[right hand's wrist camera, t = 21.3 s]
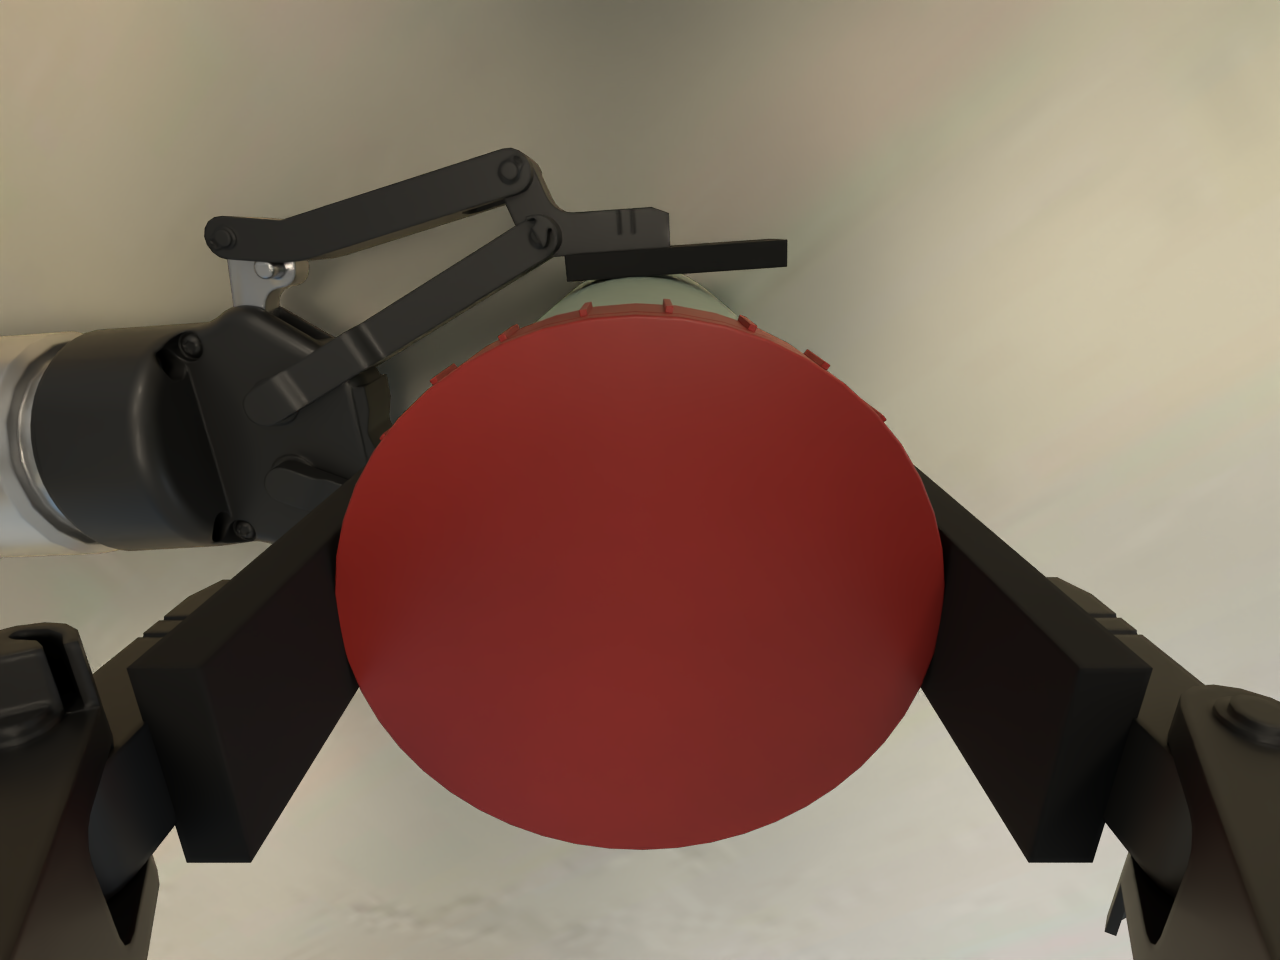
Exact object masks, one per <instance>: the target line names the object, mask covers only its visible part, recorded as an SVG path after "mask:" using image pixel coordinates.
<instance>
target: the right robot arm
mask: <svg viewBox="0 0 1280 960" xmlns="http://www.w3.org/2000/svg"><path fill="white" fill-rule="evenodd" d="M365 466H366V465H365ZM365 466H364V467H363V468H361V469H360V470H359V471H358V472H357V473H356V474H354V475H353V476H352V477H351V478H350V479H349V480H347V481H346V482H345V483H344V484H343V485H341V486H340V487H339V488H338V489H337V490H336V491H334V492H333V493H332V494H331V495H330V496H329V497H327V498H326V499H325V500H324V501H323V502H321V503H320V504H319V505H318V506H317V507H316V508H314V509H313V510H312V511H311V512H310V513H309V514H307V515H306V516H305V517H304V518H303V519H301V520H300V521H299V522H298V523H297V524H296V525H294V526H293V527H292V528H291V529H290V530H289V531H287V532H286V533H285V534H284V535H283V536H281V537H280V538H279V539H278V540H277V541H276V542H274V543H273V544H272V545H271V546H270V547H269V548H267V549H266V550H265V551H264V552H263V553H261V554H260V555H259V556H258V557H257V558H256V559H254V560H253V561H252V562H251V563H250V564H249V565H247V566H246V567H245V568H244V569H243V570H241V571H240V572H239V573H238V574H237V575H236V576H234V577H233V578H232V579H231V580H221V581H219V582H217V583H215V584H213V585H211V586H209V587H207V588H205V589H203V590H201V591H199V592H197V593H195V594H193V595H191V596H189V597H188V598H186V599H185V600H184V601H183V602H181V603H180V604H179V605H178V606H176V607H175V608H174V609H173V610H171V611H170V612H169V613H168V614H167V615H165V616H164V620H159V621H158V622H157V623H155V624H154V625H153V626H152V627H150V628H149V629H148V630H147V631H145V632H144V633H143V634H144V635H143V637H138V638H137V639H136V640H134V641H133V642H132V643H131V644H129V645H128V646H127V647H126V648H124V649H123V650H122V651H121V652H119V653H118V654H117V655H116V656H115V657H113V658H112V659H111V660H110V661H108V662H107V663H106V664H105V665H103V666H102V667H101V668H100V669H98V670H97V671H96V672H95V673H94V674H92V672H91V669H90V666H89V663H88V660H87V657H86V654H85V650H84V647H83V644H82V641H81V638H80V635H79V632H78V630H76V629H75V628H73V627H71V626H69V625H67V624H61V623H46V622H44V623H36V624H28V625H20V626H14V627H10V628H7V629H3V630H0V960H147V956H148V950H149V944H150V938H151V932H152V926H153V920H154V914H155V908H156V902H157V896H158V890H159V877H158V870H157V867H156V864H155V861H154V858H153V855H152V854H153V853H154V851H155V850H156V849H157V847H158V846H159V845H160V844H161V842H162V841H163V840H164V838H165V837H166V836H167V835H168V833H169V832H170V831H171V830H172V828H173V827H174V826H176V829H177V833H178V836H179V839H180V842H181V846H182V849H183V852H184V855H185V858H186V862H187V863H251V862H252V860H253V858H254V857H255V855H256V854H257V852H258V850H259V849H260V847H261V845H262V844H263V842H264V841H265V839H266V837H267V836H268V834H269V832H270V831H271V829H272V828H273V826H274V824H275V823H276V821H277V819H278V818H279V816H280V815H281V813H282V811H283V810H284V808H285V806H286V805H287V803H288V802H289V800H290V798H291V797H292V795H293V793H294V792H295V790H296V789H297V787H298V785H299V784H300V782H301V781H302V779H303V777H304V776H305V774H306V772H307V771H308V769H309V768H310V766H311V764H312V763H313V761H314V759H315V758H316V756H317V755H318V753H319V751H320V750H321V748H322V746H323V745H324V743H325V742H326V740H327V738H328V737H329V735H330V733H331V732H332V730H333V729H334V727H335V725H336V724H337V722H338V720H339V719H340V717H341V716H342V714H343V712H344V711H345V709H346V708H347V706H348V704H349V703H350V701H351V699H352V698H353V696H354V695H355V693H356V691H357V690H358V688H359V685H358V683H357V680H356V678H355V676H354V673H353V671H352V669H351V666H350V664H349V662H348V659H347V655H346V651H345V647H344V643H343V638H342V632H341V627H340V621H339V615H338V609H337V603H336V597H335V577H336V554H337V549H338V544H339V538H340V533H341V528H342V523H343V519H344V516H345V513H346V510H347V507H348V504H349V502H350V499H351V496H352V493H353V490H354V488H355V485H356V483H357V481H358V479H359V477H360V475H361V474H362V472H363V470H364V468H365ZM914 467H915V469H916V470H917V472H918V474H919V475H920V477H921V479H922V482H923V485H924V487H925V490H926V492H927V495H928V497H929V500H930V503H931V505H932V508H933V510H934V513H935V517H936V522H937V526H938V531H939V535H940V540H941V544H942V549H943V564H944V580H945V589H944V600H943V607H942V613H941V619H940V625H939V630H938V635H937V641H936V646H935V651H934V655H933V657H932V660H931V662H930V665H929V667H928V670H927V672H926V675H925V677H924V680H923V683H922V685H921V689H922V690H923V692H924V694H925V695H926V697H927V698H928V700H929V702H930V703H931V705H932V707H933V708H934V710H935V711H936V713H937V715H938V716H939V718H940V720H941V721H942V723H943V724H944V726H945V728H946V729H947V731H948V733H949V734H950V736H951V737H952V739H953V741H954V742H955V744H956V746H957V747H958V749H959V750H960V752H961V754H962V755H963V757H964V758H965V760H966V762H967V763H968V765H969V767H970V768H971V770H972V771H973V773H974V775H975V776H976V778H977V780H978V781H979V783H980V784H981V786H982V788H983V789H984V791H985V793H986V794H987V796H988V797H989V799H990V801H991V802H992V804H993V806H994V807H995V809H996V810H997V812H998V814H999V815H1000V817H1001V819H1002V820H1003V822H1004V823H1005V825H1006V827H1007V828H1008V830H1009V832H1010V833H1011V835H1012V836H1013V838H1014V840H1015V841H1016V843H1017V844H1018V846H1019V848H1020V849H1021V851H1022V853H1023V854H1024V856H1025V857H1026V859H1027V861H1028V862H1029V863H1093V860H1094V857H1095V853H1096V850H1097V847H1098V844H1099V841H1100V837H1101V834H1102V831H1103V828H1104V824H1105V823H1106V824H1107V825H1108V826H1109V828H1110V829H1111V830H1112V831H1113V833H1114V834H1115V835H1116V837H1117V838H1118V839H1119V840H1120V842H1121V843H1122V844H1123V845H1124V847H1125V848H1126V849H1127V850H1128V855H1127V858H1126V861H1125V864H1124V867H1123V870H1122V873H1121V876H1120V879H1119V882H1118V885H1117V888H1116V891H1115V894H1114V897H1113V900H1112V903H1111V906H1110V909H1109V912H1108V915H1107V920H1106V926H1105V932H1107V933H1109V934H1112V935H1115V936H1116V935H1117V932H1118V929H1119V926H1120V923H1121V920H1123V919H1125V918H1127V924H1128V930H1129V936H1130V942H1131V948H1132V954H1133V960H1280V702H1279V701H1277V700H1275V699H1273V698H1270V697H1267V696H1263V695H1260V694H1257V693H1253V692H1250V691H1247V690H1244V689H1240V688H1233V687H1226V686H1219V685H1204V684H1203V683H1202V682H1200V681H1199V680H1198V679H1197V678H1195V677H1194V676H1193V675H1192V674H1191V673H1189V672H1188V671H1187V670H1186V669H1184V668H1183V667H1182V666H1181V665H1179V664H1178V663H1177V662H1176V661H1174V660H1173V659H1172V658H1171V657H1169V656H1168V655H1167V654H1166V653H1164V652H1163V651H1162V650H1161V649H1159V648H1158V647H1157V646H1156V645H1154V644H1153V643H1152V642H1151V641H1149V640H1148V639H1147V638H1146V637H1144V636H1143V635H1137V630H1136V629H1134V628H1133V627H1132V626H1131V625H1129V624H1128V623H1127V622H1126V621H1124V620H1123V619H1122V618H1117V617H1116V613H1114V612H1113V611H1112V610H1111V609H1109V608H1108V607H1107V606H1106V605H1104V604H1103V603H1102V602H1101V601H1099V600H1098V599H1097V598H1096V597H1094V596H1093V595H1092V594H1090V593H1088V592H1086V591H1084V590H1082V589H1080V588H1078V587H1076V586H1074V585H1072V584H1070V583H1068V582H1066V581H1064V580H1062V579H1060V578H1058V577H1045V576H1044V575H1043V574H1042V573H1040V572H1039V571H1038V570H1037V569H1036V568H1034V567H1033V566H1032V565H1031V564H1030V563H1029V562H1027V561H1026V560H1025V559H1024V558H1023V557H1022V556H1020V555H1019V554H1018V553H1017V552H1016V551H1015V550H1013V549H1012V548H1011V547H1010V546H1009V545H1007V544H1006V543H1005V542H1004V541H1003V540H1002V539H1000V538H999V537H998V536H997V535H996V534H995V533H993V532H992V531H991V530H990V529H989V528H987V527H986V526H985V525H984V524H983V523H982V522H980V521H979V520H978V519H977V518H976V517H975V516H973V515H972V514H971V513H970V512H969V511H967V510H966V509H965V508H964V507H963V506H962V505H960V504H959V503H958V502H957V501H956V500H955V499H953V498H952V497H951V496H950V495H949V494H947V493H946V492H945V491H944V490H943V489H942V488H940V487H939V486H938V485H937V484H936V483H935V482H933V481H932V480H931V479H930V478H929V477H927V476H926V475H925V474H924V473H923V472H922V471H920V470H919V469H918V468H917V467H916V466H915V465H914Z"/></svg>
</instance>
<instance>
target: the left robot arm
mask: <svg viewBox="0 0 1280 960" xmlns="http://www.w3.org/2000/svg"><path fill="white" fill-rule="evenodd" d="M504 205H506V206H507V208H508V210H509V213H510V215H511V217H512V219H513V221H514V223H515V225H516V226H515V227H513V228H511V229H510V230H508V231H507V232H505V233H503V234H502V235H500V236H499V237H497V238H496V239H494V240H492V241H491V242H489V243H488V244H486V245H485V246H483V247H481V248H480V249H478V250H477V251H475V252H473V253H472V254H470V255H469V256H467V257H466V258H464V259H462V260H461V261H459V262H458V263H456V264H454V265H453V266H451V267H450V268H448V269H447V270H445V271H443V272H442V273H440V274H439V275H437V276H435V277H434V278H432V279H431V280H429V281H428V282H426V283H424V284H423V285H421V286H420V287H418V288H416V289H415V290H413V291H412V292H410V293H409V294H407V295H405V296H404V297H402V298H401V299H399V300H397V301H396V302H394V303H393V304H391V305H390V306H388V307H386V308H385V309H383V310H382V311H380V312H378V313H377V314H375V315H374V316H372V317H371V318H369V319H367V320H366V321H364V322H363V323H361V324H359V325H357V326H355V327H353V328H352V329H350V330H348V331H346V332H344V333H342V334H341V335H339V336H337V337H336V338H335V337H333V336H331V335H329V334H328V333H326V332H324V331H323V330H321V329H319V328H317V327H316V326H314V325H312V324H310V323H309V322H307V321H305V320H304V319H302V318H300V317H298V316H297V315H295V314H293V313H292V312H290V311H288V310H286V309H285V308H283V307H281V306H279V299H280V296H281V294H282V292H283V291H284V290H285V289H287V288H288V287H291V286H296V285H300V284H301V283H303V282H304V281H305V280H306V279H307V276H308V274H309V263H308V261H310V260H321V259H330V258H336V257H340V256H344V255H348V254H351V253H354V252H357V251H361V250H364V249H367V248H370V247H373V246H377V245H380V244H383V243H386V242H389V241H392V240H396V239H399V238H402V237H405V236H408V235H412V234H415V233H418V232H421V231H424V230H427V229H431V228H434V227H437V226H440V225H443V224H447V223H450V222H453V221H456V220H459V219H462V218H466V217H469V216H472V215H475V214H478V213H482V212H485V211H488V210H491V209H494V208H497V207H501V206H504ZM204 237H205V240H206V243H207V245H208V247H209V248H210V249H211V251H212V252H213V253H214V254H216V255H217V256H219V257H221V258H224V259H227V261H228V268H229V276H230V283H231V291H232V298H233V306H234V307H232V308H230V309H228V310H226V311H225V312H223V313H222V314H221V315H220V316H219V317H217V318H216V319H214V320H212V321H210V322H205V323H190V324H175V325H161V326H146V327H131V328H117V329H103V330H95V331H91V332H88V333H85V334H84V333H79V332H74V331H72V332H57V333H43V334H28V335H14V336H0V558H3V557H30V556H56V555H82V554H100V553H106V552H112V551H117V550H126V551H138V550H156V549H173V548H190V547H207V546H222V545H230V544H237V543H244V542H250V541H262V542H267V543H271V544H273V543H274V542H276V541H277V540H278V539H279V538H280V537H281V536H283V535H284V534H285V533H286V532H287V531H289V530H290V529H291V528H292V527H293V526H294V525H296V524H297V523H298V522H299V521H300V520H301V519H303V518H304V517H305V516H306V515H307V514H309V513H310V512H311V511H312V510H313V509H314V508H316V507H317V506H318V505H319V504H320V503H321V502H323V501H324V500H325V499H326V498H327V497H329V496H330V495H331V494H332V493H333V492H334V491H336V490H337V489H338V488H339V487H340V486H341V485H343V484H344V483H345V482H346V481H347V480H349V479H350V478H351V477H352V476H353V475H354V474H356V473H357V472H358V471H359V470H360V469H361V468H363V467H364V466H365V465H366V464H367V462H368V461H369V459H370V457H371V455H372V453H373V451H374V450H375V448H376V447H377V446H378V444H379V443H380V442H381V440H380V437H381V436H382V434H383V433H385V432H386V431H387V430H388V429H390V428H391V427H392V426H393V425H392V423H391V421H390V419H389V410H390V390H389V385H388V380H387V375H386V374H382V375H380V373H379V371H378V370H377V368H376V367H377V366H378V365H380V364H381V363H383V362H385V361H386V360H388V359H390V358H391V357H393V356H394V355H396V354H398V353H399V352H401V351H403V350H404V349H406V348H407V347H408V346H410V345H411V344H413V343H415V342H416V341H418V340H420V339H421V338H423V337H424V336H426V335H428V334H429V333H431V332H433V331H434V330H436V329H437V328H439V327H441V326H442V325H444V324H446V323H447V322H449V321H450V320H452V319H454V318H455V317H457V316H459V315H460V314H462V313H463V312H465V311H467V310H468V309H470V308H472V307H473V306H475V305H476V304H478V303H480V302H481V301H483V300H485V299H486V298H488V297H489V296H491V295H493V294H494V293H496V292H498V291H499V290H501V289H502V288H504V287H506V286H507V285H509V284H511V283H512V282H514V281H515V280H517V279H519V278H520V277H522V276H524V275H525V274H527V273H528V272H530V271H532V270H533V269H535V268H537V267H538V266H540V265H541V264H543V263H545V262H546V261H548V260H550V259H551V258H553V257H558V256H565V264H566V275H567V282H570V281H585V280H599V279H614V278H627V277H643V276H658V275H673V274H687V273H702V272H717V271H731V270H746V269H761V268H775V267H787V240H783V239H761V240H747V241H732V242H718V243H703V244H689V245H674V246H670V231H669V213H667V212H664V211H661V210H658V209H655V208H653V207H645V208H632V209H618V210H603V211H589V212H575V213H572V212H565V211H564V210H562V209H561V208H559V207H558V206H557V205H556V204H555V202H554V200H553V199H552V197H551V195H550V192H549V190H548V188H547V186H546V183H545V181H544V179H543V177H542V171H541V169H540V168H539V166H538V164H537V163H536V162H535V161H533V160H532V159H531V158H529V157H528V156H526V155H525V154H523V153H522V152H520V151H519V150H516V149H513V148H504V149H500V150H497V151H494V152H491V153H488V154H485V155H481V156H478V157H475V158H472V159H469V160H466V161H463V162H460V163H457V164H454V165H451V166H447V167H444V168H441V169H438V170H435V171H432V172H429V173H426V174H423V175H420V176H416V177H413V178H410V179H407V180H404V181H401V182H398V183H395V184H392V185H389V186H385V187H382V188H379V189H376V190H373V191H370V192H367V193H364V194H361V195H358V196H354V197H351V198H348V199H345V200H342V201H339V202H336V203H333V204H330V205H327V206H324V207H320V208H317V209H314V210H311V211H308V212H305V213H302V214H299V215H296V216H293V217H289V218H286V219H276V218H259V217H233V216H219V217H214V218H212V219H211V220H210V221H208V223H207V225H206V227H205V232H204Z"/></svg>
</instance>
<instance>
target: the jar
mask: <svg viewBox="0 0 1280 960" xmlns="http://www.w3.org/2000/svg"><path fill="white" fill-rule="evenodd" d="M663 299H670V300H671V302H672V305H677V306H682V307H687V308H693V309H698V310H703V311H708V312H714V313H717V314H720V315H723V316H726V317H729V318H732V319H735V320H738V318H739V317H738V316H737V315H736V314H734V313H733V312H732V311H731V310H730V309H729V308H727V307H726V306H725V305H724V304H723V303H722V302H721V301H719V300H718V299H717V298H716V297H715V296H714V295H712V294H711V293H710V292H709V291H708V290H706V289H705V288H704V287H703V286H701V285H700V284H699V283H697V282H695V281H694V280H692V279H690V278H689V277H687V276H684V275H682V274H673V275H658V276H643V277H627V278H614V279H599V280H586V281H585V282H583V283H582V284H580V285H579V286H577V287H576V288H575V289H574V290H573V291H571V292H570V293H569V294H568V295H567V296H565V297H564V298H563V299H562V300H561V301H560V302H558V303H557V304H556V305H555V306H554V307H553V308H551V309H550V310H549V311H548V312H547V313H546V314H544V315H543V316H542V317H541V318H540V319H539V320H538V321H536V322H539V321H542V320H544V319H547V318H550V317H552V316H555V315H559V314H563V313H568V312H572V311H577V310H580V309H581V307H582V306H583V305H584V303H586V302H592V306H593V307H595V306H607V305H619V304H631V303H642V304H661V305H663ZM536 322H535V323H536Z"/></svg>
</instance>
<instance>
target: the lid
mask: <svg viewBox="0 0 1280 960" xmlns="http://www.w3.org/2000/svg"><path fill="white" fill-rule="evenodd" d="M498 338H499V340H497V341H496V342H494V343H492V344H490V345H488V346H486V347H485V348H483V349H482V350H481V351H479V352H478V353H476V354H475V355H474V356H472V357H471V358H470V359H468V360H467V361H466V362H464V363H463V364H461V365H460V366H459V367H457V366H456V365H455V364H454V363H453V364H452V365H450V366H449V367H448V368H446V369H445V370H443V371H442V372H441V373H439V374H438V375H436V376H435V377H434V378H432V379H431V380H430V382H431V383H432V385H433V386H432V387H430V388H429V389H428V390H427V391H426V392H425V393H424V394H423V395H422V396H420V397H419V398H418V399H417V400H416V401H415V402H414V403H413V404H412V405H411V406H410V407H409V408H408V409H407V410H406V411H405V412H404V413H403V414H402V415H401V416H400V417H399V418H398V419H397V421H396V422H395V423H394V425H393V426H392V427H391V428H390V429H388V430H387V431H386V432H385V433H383V434H382V436H381V437H380V440H381V442H380V443H379V444H378V446H377V447H376V448H375V450H374V451H373V453H372V455H371V457H370V459H369V461H368V462H367V464H366V466H365V468H364V470H363V472H362V474H361V475H360V477H359V479H358V481H357V483H356V485H355V488H354V490H353V493H352V496H351V499H350V502H349V504H348V507H347V510H346V513H345V516H344V519H343V523H342V528H341V533H340V538H339V544H338V549H337V554H336V577H335V597H336V603H337V609H338V615H339V621H340V627H341V632H342V638H343V643H344V647H345V651H346V655H347V659H348V662H349V664H350V666H351V669H352V671H353V673H354V676H355V678H356V680H357V683H358V685H359V687H360V690H361V692H362V694H363V695H364V697H365V699H366V700H367V702H368V704H369V705H370V707H371V709H372V710H373V712H374V714H375V715H376V717H377V719H378V720H379V722H380V723H381V724H382V726H383V727H384V728H385V729H386V731H387V732H388V733H389V734H390V736H391V737H392V738H393V740H394V741H395V742H396V743H397V745H398V746H399V747H400V748H401V749H402V750H403V751H404V752H405V753H406V754H407V755H408V756H409V757H410V758H411V759H412V760H413V761H414V762H415V763H416V764H417V765H418V766H419V767H420V768H421V769H422V770H423V771H424V772H425V773H427V774H428V775H429V776H431V777H432V778H433V779H434V780H436V781H437V782H438V783H439V784H441V785H442V786H443V787H445V788H446V789H447V790H448V791H450V792H451V793H453V794H454V795H456V796H458V797H459V798H461V799H463V800H464V801H466V802H467V803H469V804H471V805H472V806H474V807H476V808H477V809H479V810H481V811H483V812H485V813H487V814H489V815H491V816H493V817H495V818H498V819H500V820H502V821H504V822H506V823H508V824H510V825H513V826H516V827H519V828H522V829H524V830H527V831H530V832H533V833H536V834H539V835H541V836H545V837H549V838H554V839H558V840H562V841H566V842H570V843H574V844H581V845H588V846H595V847H602V848H610V849H636V850H648V849H665V848H679V847H686V846H692V845H698V844H704V843H711V842H715V841H718V840H722V839H726V838H730V837H734V836H737V835H741V834H745V833H747V832H750V831H753V830H755V829H758V828H761V827H763V826H766V825H769V824H771V823H774V822H776V821H778V820H780V819H782V818H784V817H786V816H788V815H790V814H792V813H794V812H796V811H798V810H800V809H802V808H804V807H806V806H808V805H809V804H811V803H813V802H814V801H816V800H817V799H819V798H820V797H822V796H823V795H825V794H826V793H828V792H830V791H831V790H833V789H834V788H836V787H837V786H838V785H839V784H840V783H842V782H843V781H844V780H845V779H847V778H848V777H849V776H850V775H851V774H853V773H854V772H855V771H856V770H858V769H859V768H860V767H861V766H862V765H863V764H864V763H865V762H866V761H867V760H868V759H869V758H870V757H871V756H872V755H873V754H874V753H875V752H876V751H877V749H878V748H879V747H880V746H881V745H882V744H883V743H884V742H885V741H886V739H887V738H888V737H889V735H890V734H891V733H892V731H893V730H894V729H895V727H896V726H897V725H898V723H899V722H900V721H901V719H902V718H903V717H904V715H905V714H906V712H907V710H908V708H909V707H910V705H911V703H912V701H913V699H914V698H915V696H916V694H917V692H918V691H919V689H920V687H921V685H922V683H923V680H924V677H925V675H926V672H927V670H928V667H929V665H930V662H931V660H932V657H933V655H934V651H935V646H936V641H937V635H938V630H939V625H940V619H941V613H942V607H943V600H944V589H945V580H944V564H943V549H942V544H941V540H940V535H939V531H938V526H937V522H936V517H935V513H934V510H933V508H932V505H931V503H930V500H929V497H928V495H927V492H926V490H925V487H924V485H923V482H922V479H921V477H920V475H919V474H918V472H917V470H916V469H915V467H914V465H913V463H912V462H911V460H910V458H909V456H908V455H907V453H906V451H905V450H904V448H903V446H902V444H901V443H900V442H899V441H898V439H897V438H896V437H895V436H894V434H893V433H892V432H891V431H890V429H889V428H888V427H887V426H886V424H885V423H884V422H885V421H886V418H885V417H884V416H883V415H882V414H881V413H880V412H878V411H877V410H876V409H874V408H873V407H872V406H870V405H869V404H868V403H866V402H865V401H864V400H862V399H861V398H860V397H859V396H858V395H857V394H856V393H854V392H853V391H852V390H851V389H850V388H849V387H848V386H847V385H846V384H845V383H843V382H842V381H840V380H839V379H838V378H836V377H835V376H834V375H832V374H831V373H830V372H828V371H827V369H828V368H829V367H830V365H829V364H828V363H827V362H825V361H824V360H822V359H821V358H819V357H818V356H817V355H815V354H814V353H812V352H811V351H809V350H808V349H807V350H806V351H805V353H804V354H803V353H801V352H800V351H799V350H797V349H796V348H794V347H793V346H791V345H790V344H788V343H787V342H785V341H783V340H781V339H779V338H777V337H775V336H773V335H771V334H769V333H767V332H765V331H763V330H761V329H759V328H757V325H755V324H754V323H753V322H752V321H750V320H749V319H748V318H747V317H745V316H742V315H739V318H738V320H735V319H732V318H729V317H726V316H723V315H720V314H717V313H714V312H708V311H703V310H698V309H693V308H687V307H682V306H677V305H672V302H671V300H670V299H663V305H661V304H642V303H631V304H619V305H607V306H595V307H593V306H592V302H586V303H584V305H583V306H582V307H581V309H580V310H577V311H572V312H568V313H563V314H559V315H555V316H552V317H550V318H547V319H544V320H542V321H539V322H536V323H533V324H531V325H528V326H525V327H523V328H519V326H518V324H515V325H513V326H511V327H510V328H509V329H507V330H506V331H504V332H503V333H502V334H500V335H499V336H498Z"/></svg>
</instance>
